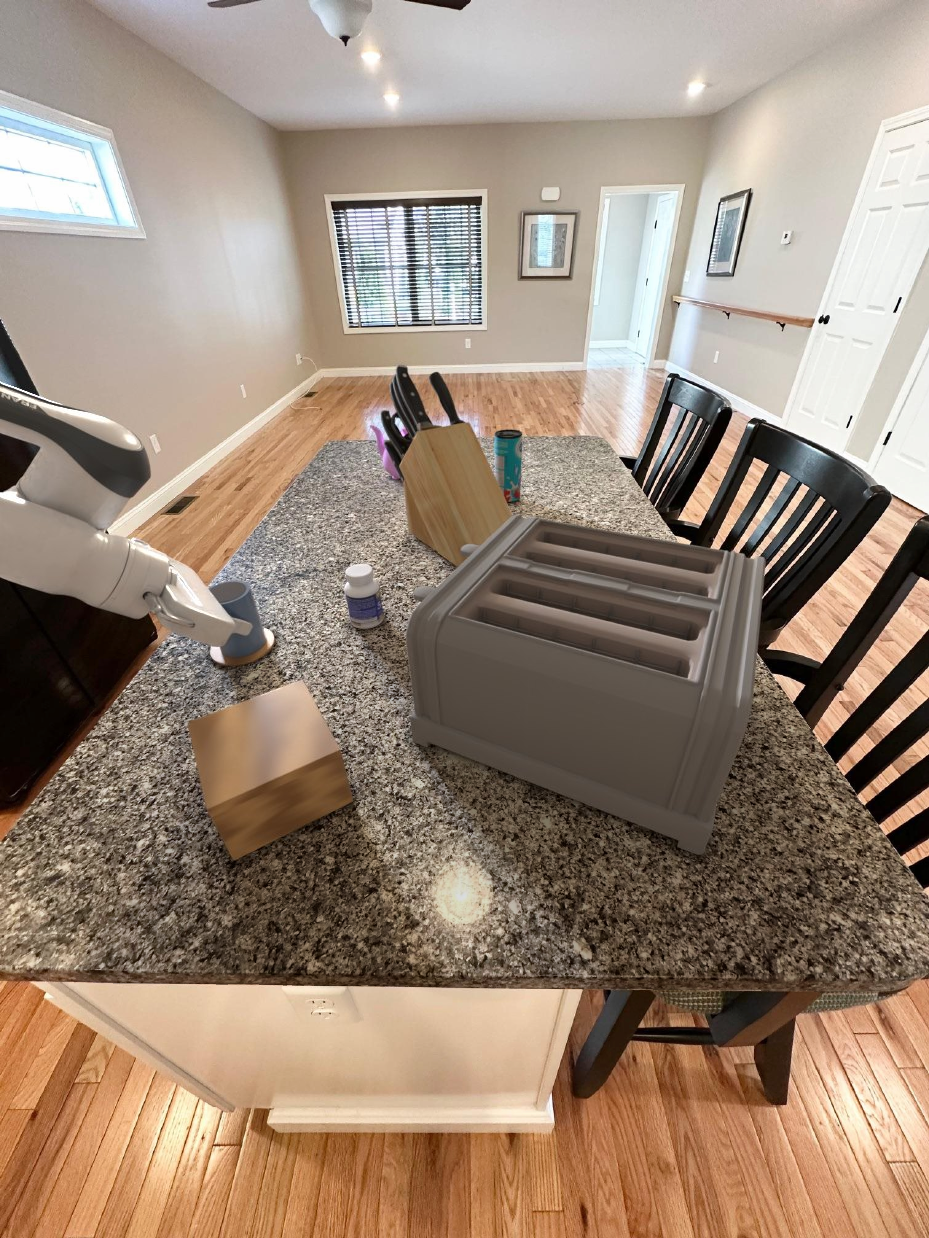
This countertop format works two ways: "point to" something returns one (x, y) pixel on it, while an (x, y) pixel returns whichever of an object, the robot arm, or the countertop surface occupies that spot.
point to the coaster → (230, 661)
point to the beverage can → (508, 463)
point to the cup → (242, 605)
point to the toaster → (593, 667)
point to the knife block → (442, 472)
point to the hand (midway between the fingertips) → (239, 616)
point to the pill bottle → (363, 597)
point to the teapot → (383, 452)
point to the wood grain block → (268, 767)
